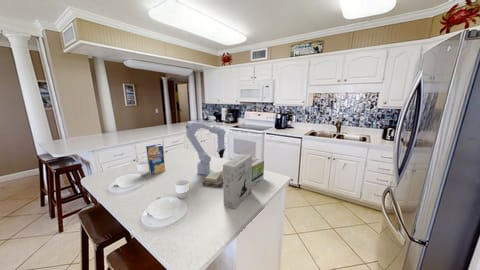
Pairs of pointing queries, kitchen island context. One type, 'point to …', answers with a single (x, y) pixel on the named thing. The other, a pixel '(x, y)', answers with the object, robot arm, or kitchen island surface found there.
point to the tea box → (257, 170)
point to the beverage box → (155, 158)
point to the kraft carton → (214, 177)
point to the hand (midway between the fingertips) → (221, 157)
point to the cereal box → (237, 180)
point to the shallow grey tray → (212, 184)
